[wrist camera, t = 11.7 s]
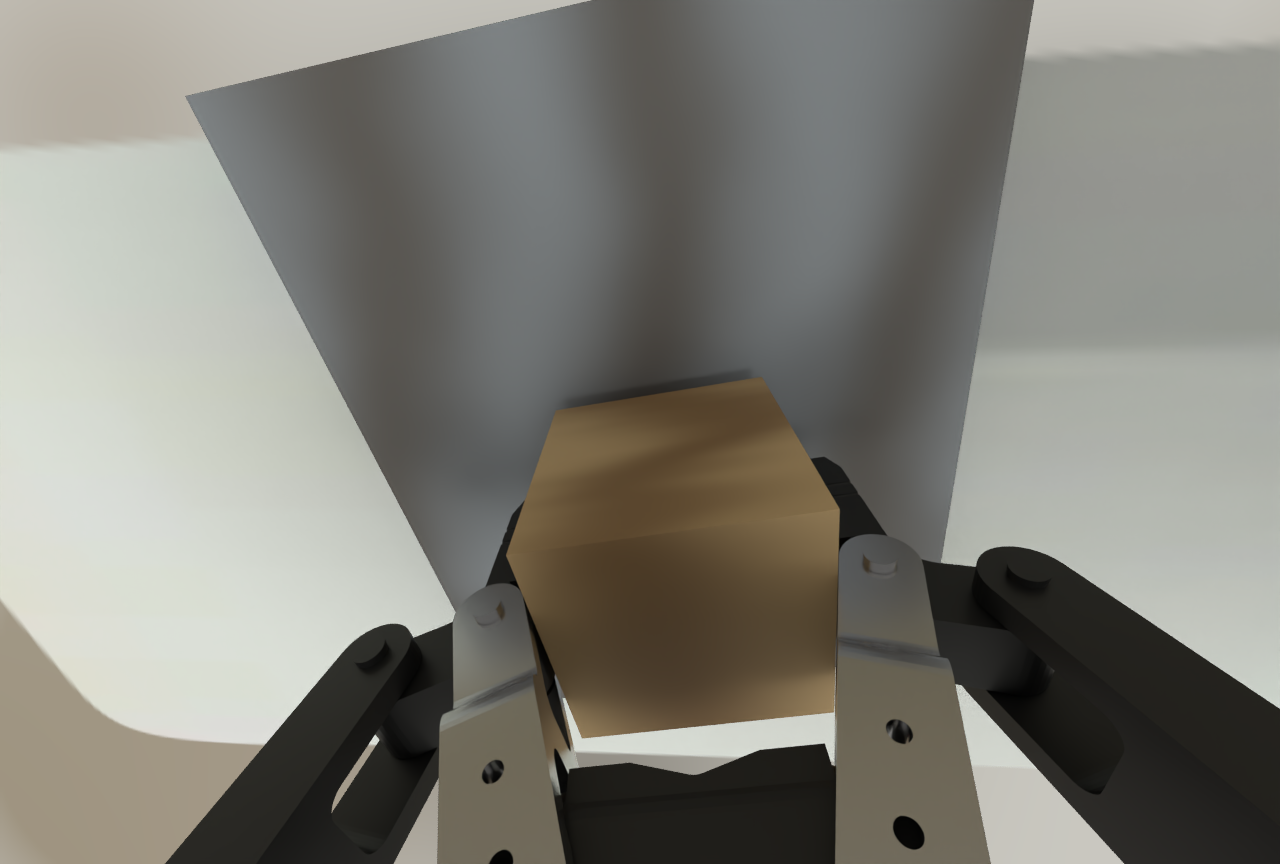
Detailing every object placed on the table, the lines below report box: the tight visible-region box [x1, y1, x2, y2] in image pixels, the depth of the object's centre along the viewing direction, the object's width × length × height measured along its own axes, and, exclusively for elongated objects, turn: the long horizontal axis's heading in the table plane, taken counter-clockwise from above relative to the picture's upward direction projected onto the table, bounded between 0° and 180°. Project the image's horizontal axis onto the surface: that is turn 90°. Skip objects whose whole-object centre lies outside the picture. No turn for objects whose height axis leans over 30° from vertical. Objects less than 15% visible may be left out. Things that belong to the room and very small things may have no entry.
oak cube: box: [506, 377, 840, 738], centre depth 10 cm, size 5×5×5 cm
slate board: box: [185, 0, 1034, 698], centre depth 14 cm, size 16×20×1 cm
